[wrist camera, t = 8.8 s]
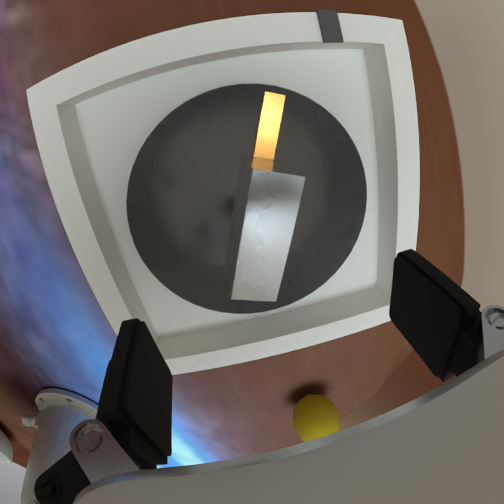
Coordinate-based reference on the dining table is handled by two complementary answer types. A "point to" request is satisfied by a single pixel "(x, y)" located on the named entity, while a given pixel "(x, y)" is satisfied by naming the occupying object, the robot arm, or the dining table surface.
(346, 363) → the dining table surface
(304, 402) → the lemon
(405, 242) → the dial housing
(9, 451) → the cereal bowl
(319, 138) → the dial
